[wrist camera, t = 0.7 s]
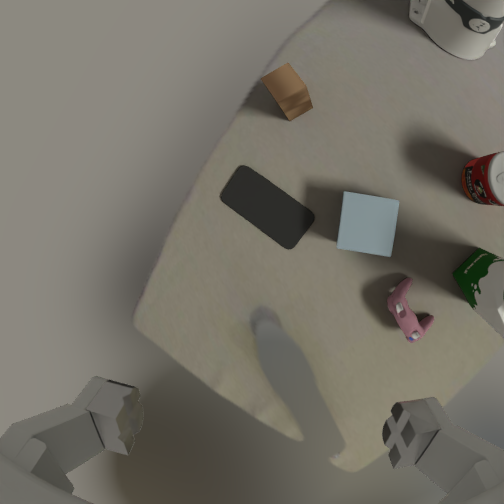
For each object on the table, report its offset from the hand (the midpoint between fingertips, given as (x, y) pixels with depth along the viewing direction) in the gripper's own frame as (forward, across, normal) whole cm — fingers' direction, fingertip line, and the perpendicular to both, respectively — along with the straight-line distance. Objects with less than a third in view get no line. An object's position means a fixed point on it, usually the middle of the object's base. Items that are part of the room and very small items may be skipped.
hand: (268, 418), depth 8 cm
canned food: (+34, -35, -12) cm, 50 cm away
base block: (+38, -16, -2) cm, 41 cm away
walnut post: (+42, -3, -20) cm, 47 cm away
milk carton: (+33, -37, +4) cm, 49 cm away
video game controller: (+35, -25, +11) cm, 45 cm away
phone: (+43, 0, -2) cm, 43 cm away
